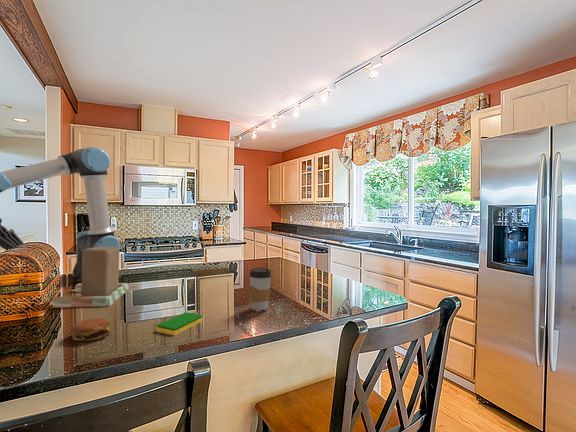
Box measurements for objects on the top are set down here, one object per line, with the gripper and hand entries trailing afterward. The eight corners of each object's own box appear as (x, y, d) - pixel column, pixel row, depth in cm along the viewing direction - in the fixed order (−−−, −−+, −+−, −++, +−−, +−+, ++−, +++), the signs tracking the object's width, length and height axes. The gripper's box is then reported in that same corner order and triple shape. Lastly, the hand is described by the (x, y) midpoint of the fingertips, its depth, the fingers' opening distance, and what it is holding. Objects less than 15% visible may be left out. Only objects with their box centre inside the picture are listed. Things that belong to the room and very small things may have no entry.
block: (105, 301, 126) (106, 250, 125) (79, 300, 126) (81, 249, 125) (119, 294, 136) (120, 247, 135) (95, 293, 136) (96, 246, 135)
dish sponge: (202, 322, 109) (203, 315, 109) (174, 337, 96) (174, 328, 96) (185, 318, 111) (185, 311, 111) (155, 332, 98) (155, 324, 98)
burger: (68, 335, 94) (69, 319, 94) (104, 328, 100) (105, 313, 100) (75, 346, 86) (75, 329, 86) (113, 338, 93) (114, 322, 93)
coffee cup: (274, 309, 124) (276, 270, 123) (257, 313, 118) (259, 273, 117) (260, 304, 129) (262, 267, 129) (243, 308, 124) (245, 269, 123)
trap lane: (78, 290, 140) (78, 283, 140) (128, 289, 144) (128, 283, 144) (49, 307, 116) (49, 299, 116) (109, 306, 120) (109, 298, 120)
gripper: (-13, 224, 127) (35, 266, 131) (-39, 227, 115) (16, 273, 119) (3, 211, 128) (50, 253, 132) (-21, 212, 116) (32, 259, 120)
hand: (34, 262), depth 126 cm, fingers closed
